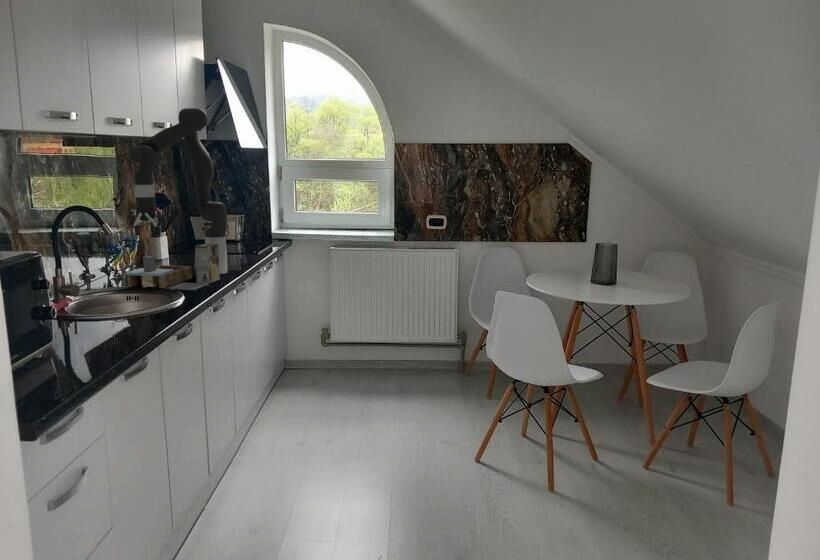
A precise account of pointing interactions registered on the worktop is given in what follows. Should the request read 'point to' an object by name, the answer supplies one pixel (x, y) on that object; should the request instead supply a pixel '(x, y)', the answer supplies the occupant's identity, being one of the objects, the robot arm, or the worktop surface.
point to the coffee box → (207, 263)
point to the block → (150, 281)
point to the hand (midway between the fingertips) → (147, 235)
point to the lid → (149, 268)
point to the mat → (188, 286)
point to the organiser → (166, 276)
